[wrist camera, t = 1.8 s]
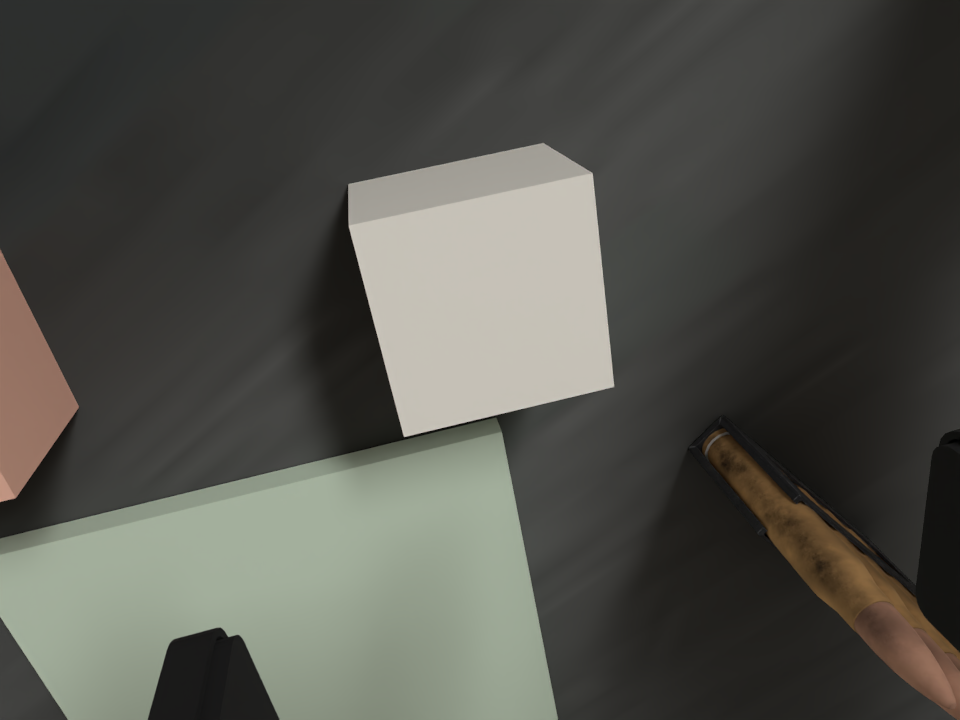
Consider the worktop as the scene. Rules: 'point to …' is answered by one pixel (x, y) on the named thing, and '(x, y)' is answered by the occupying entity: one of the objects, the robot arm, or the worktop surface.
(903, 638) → the ammunition clip
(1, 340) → the coral brick
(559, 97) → the worktop surface
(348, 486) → the base plate
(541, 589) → the worktop surface
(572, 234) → the cream brick
